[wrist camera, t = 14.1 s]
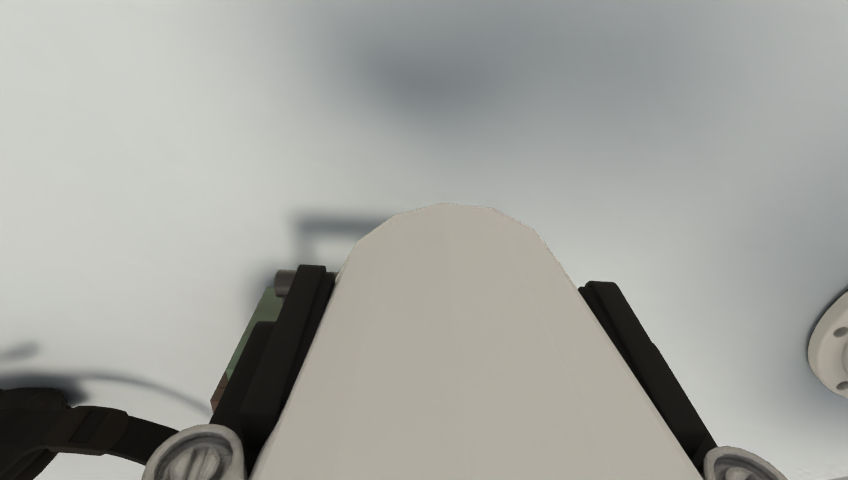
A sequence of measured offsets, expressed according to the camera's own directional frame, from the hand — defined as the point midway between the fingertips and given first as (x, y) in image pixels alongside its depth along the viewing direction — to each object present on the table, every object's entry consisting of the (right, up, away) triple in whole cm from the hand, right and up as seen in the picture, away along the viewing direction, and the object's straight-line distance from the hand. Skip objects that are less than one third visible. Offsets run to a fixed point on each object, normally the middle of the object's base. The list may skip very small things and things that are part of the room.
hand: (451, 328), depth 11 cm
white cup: (0, +1, +1) cm, 1 cm away
